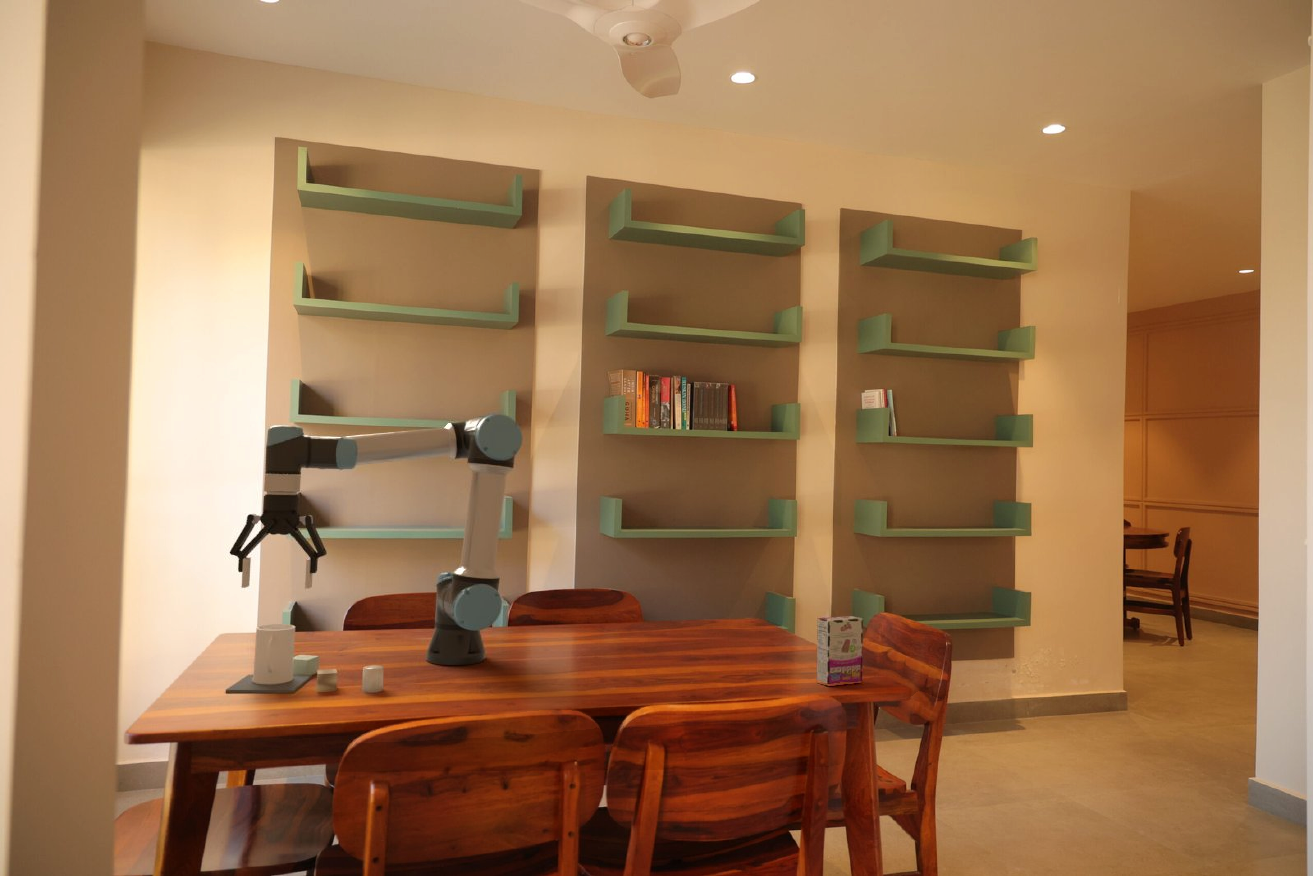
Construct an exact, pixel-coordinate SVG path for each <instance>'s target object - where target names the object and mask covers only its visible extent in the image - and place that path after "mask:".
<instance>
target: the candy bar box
mask: <svg viewBox="0 0 1313 876" xmlns="http://www.w3.org/2000/svg"><path fill="white" fill-rule="evenodd" d="M863 621H864V619H863V618H862V617H857V616H854V615H846V616H831V617H818V618H817V625H816V626H817V635H816V637H817V640H816V646H817V647H816V649H817V651H816V652H817V653H816V681H817V680H818V681H820V682H824V683H827V684H833V683H840V682H858V681H862V682H863V637H864V636H863V634H864V633H863V630H864V629H863V628H864V627H863V624H864V623H863Z"/></svg>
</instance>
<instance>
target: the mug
mask: <svg viewBox="0 0 1313 876" xmlns="http://www.w3.org/2000/svg"><path fill="white" fill-rule="evenodd" d="M255 631H256V632H255V633H256V634H255V647H254V661H253V662H254V664H253V674H252V675H253V679H252V682H253V683H255V684H261V685H274V684H282V683H287V682H290V681H292V680H293V657H295V656H294V655H295V639H296V638H295V637H296V626H295V625H293V624H288V623H287V624H286V623H277V624H276V623H273V624H263V625H260V626H257V627H256V629H255Z"/></svg>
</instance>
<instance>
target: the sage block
mask: <svg viewBox="0 0 1313 876" xmlns="http://www.w3.org/2000/svg"><path fill="white" fill-rule="evenodd" d="M319 665H320V656H319V655H311V654H310V655H308V654H298V655H295V656H294V657H293V675H311V676H312V675H315V674H317V670H320V667H319Z"/></svg>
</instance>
